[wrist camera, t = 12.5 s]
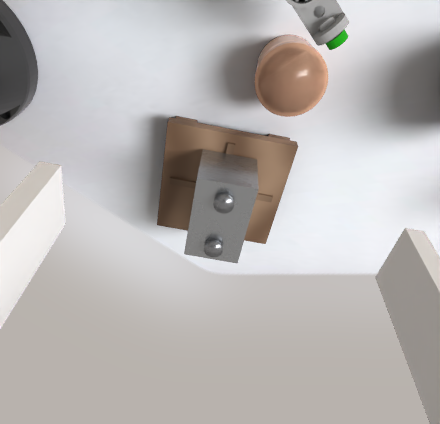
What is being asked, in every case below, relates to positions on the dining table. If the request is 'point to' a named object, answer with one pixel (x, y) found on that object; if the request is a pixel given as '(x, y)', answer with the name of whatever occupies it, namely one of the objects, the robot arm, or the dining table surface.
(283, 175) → the stand
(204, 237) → the block
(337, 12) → the mechanical component
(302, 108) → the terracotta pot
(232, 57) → the dining table surface
